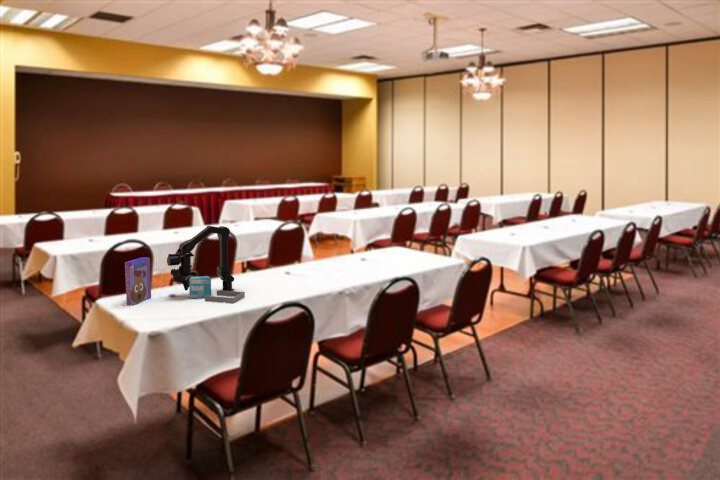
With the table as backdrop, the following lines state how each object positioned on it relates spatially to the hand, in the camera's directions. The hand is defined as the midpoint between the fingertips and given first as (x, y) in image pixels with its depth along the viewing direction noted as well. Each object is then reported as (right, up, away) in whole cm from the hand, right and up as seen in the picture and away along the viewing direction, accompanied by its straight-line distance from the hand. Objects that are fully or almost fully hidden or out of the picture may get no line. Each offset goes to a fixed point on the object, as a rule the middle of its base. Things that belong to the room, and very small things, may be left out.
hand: (186, 290), depth 357 cm
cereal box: (-23, -5, -12) cm, 27 cm away
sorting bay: (+24, -5, -5) cm, 25 cm away
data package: (+9, -4, -2) cm, 10 cm away
